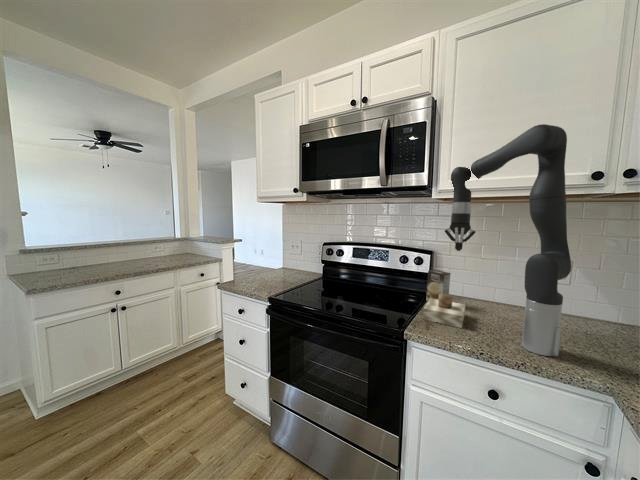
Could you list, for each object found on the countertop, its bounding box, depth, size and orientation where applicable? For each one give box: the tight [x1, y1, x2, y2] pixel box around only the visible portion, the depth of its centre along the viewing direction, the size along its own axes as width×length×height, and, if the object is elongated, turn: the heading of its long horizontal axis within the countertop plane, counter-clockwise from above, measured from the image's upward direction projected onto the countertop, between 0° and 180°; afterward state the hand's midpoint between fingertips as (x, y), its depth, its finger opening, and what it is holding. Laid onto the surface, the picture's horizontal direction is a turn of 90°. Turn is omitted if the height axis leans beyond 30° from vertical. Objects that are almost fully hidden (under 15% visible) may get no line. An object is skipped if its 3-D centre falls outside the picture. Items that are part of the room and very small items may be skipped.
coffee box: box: [425, 269, 451, 302], centre depth 135 cm, size 9×6×16 cm
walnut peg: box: [438, 293, 453, 309], centre depth 116 cm, size 5×5×10 cm
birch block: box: [422, 298, 466, 329], centre depth 116 cm, size 15×16×5 cm
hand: (458, 250), depth 120 cm, fingers closed
